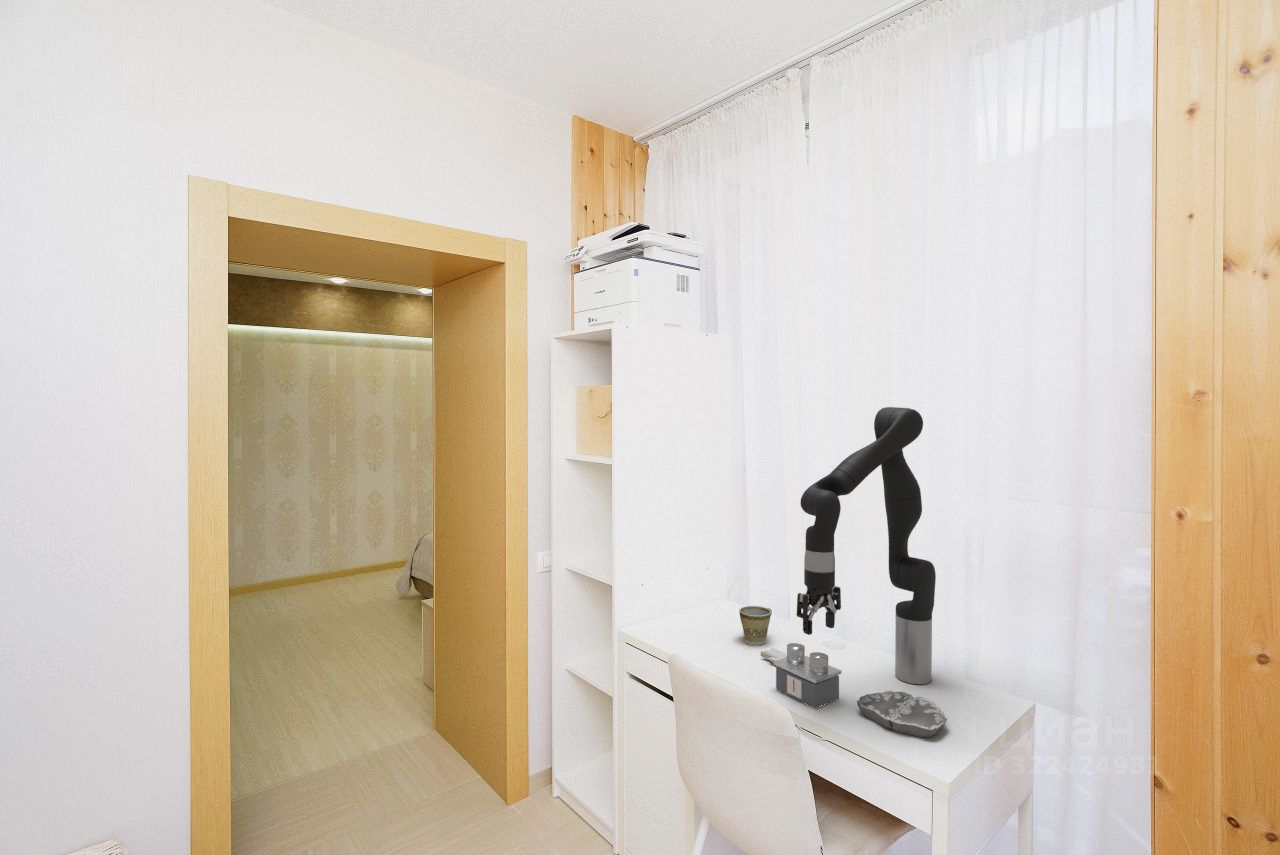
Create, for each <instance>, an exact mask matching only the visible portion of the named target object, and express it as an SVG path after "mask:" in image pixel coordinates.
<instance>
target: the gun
mask: <svg viewBox="0 0 1280 855" xmlns="http://www.w3.org/2000/svg"><path fill="white" fill-rule="evenodd" d="M760 656H761V657H762V658H763V659H765V660H767V661H769V662H771V663H773V664H774V661H777V660H780V659H783V658H786V657H787V652H784V651H782V650H779V649H777V648H775V647H771V648H770V649H767V650H766V649H765V650H763V651H760Z"/></svg>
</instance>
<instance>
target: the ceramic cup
mask: <svg viewBox="0 0 1280 855" xmlns="http://www.w3.org/2000/svg"><path fill="white" fill-rule="evenodd" d="M772 611H773V610H772V609H771V608H770V607H768V608H767V607H764V606H761V605H760V606H759V605H747V606H746V605H745V606H742V607H740V608H739V610H738V612H739V617H740V621H741V625H742V630H743V637H744V642H745V644H748V645H750V646H762V645H764V643H765V644H766V642H767V637H768V632H769V631H768V630H769V626H770V622H771V616H772ZM761 644H762V645H761Z"/></svg>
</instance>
